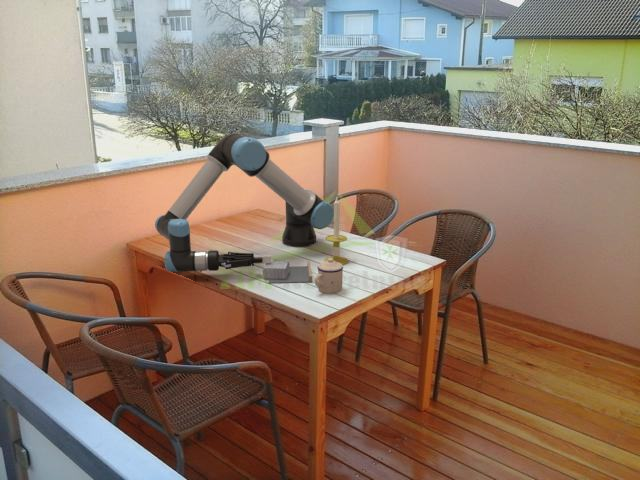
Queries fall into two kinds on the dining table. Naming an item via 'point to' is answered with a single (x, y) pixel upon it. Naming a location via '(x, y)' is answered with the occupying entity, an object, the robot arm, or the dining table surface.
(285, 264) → the medicine box
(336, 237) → the candle
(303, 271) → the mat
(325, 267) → the teacup with lid
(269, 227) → the dining table surface
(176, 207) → the robot arm
